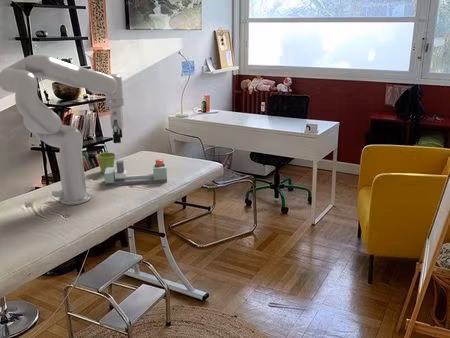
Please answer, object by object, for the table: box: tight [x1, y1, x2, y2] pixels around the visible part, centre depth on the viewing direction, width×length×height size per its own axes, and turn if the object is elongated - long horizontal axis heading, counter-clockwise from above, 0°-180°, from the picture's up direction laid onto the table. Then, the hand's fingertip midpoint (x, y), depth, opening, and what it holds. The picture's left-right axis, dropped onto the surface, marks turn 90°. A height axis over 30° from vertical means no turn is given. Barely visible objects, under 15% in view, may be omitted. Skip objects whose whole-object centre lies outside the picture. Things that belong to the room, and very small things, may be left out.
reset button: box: [154, 158, 164, 167], centre depth 209 cm, size 4×4×3 cm
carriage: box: [115, 160, 128, 178], centre depth 207 cm, size 5×6×7 cm
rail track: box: [103, 161, 168, 187], centre depth 209 cm, size 28×9×7 cm, turn 99°
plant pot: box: [95, 152, 117, 174], centre depth 222 cm, size 9×9×9 cm
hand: (118, 140), depth 202 cm, fingers open, 9 cm apart
